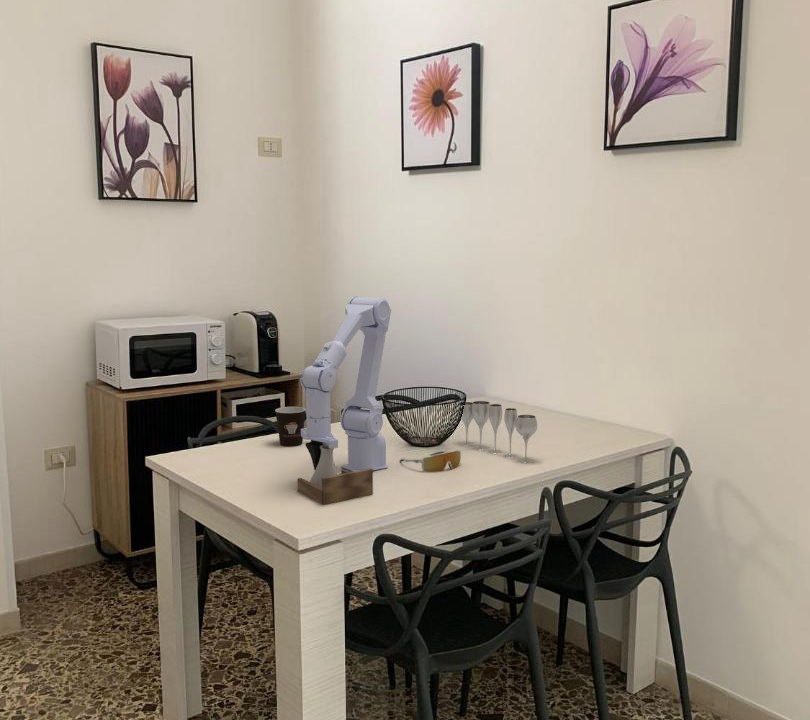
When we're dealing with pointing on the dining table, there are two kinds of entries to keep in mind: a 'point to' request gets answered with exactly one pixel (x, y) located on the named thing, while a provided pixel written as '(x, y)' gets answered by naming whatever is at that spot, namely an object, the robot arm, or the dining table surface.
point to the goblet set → (485, 411)
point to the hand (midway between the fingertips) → (319, 471)
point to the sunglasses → (438, 461)
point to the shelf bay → (339, 486)
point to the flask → (324, 466)
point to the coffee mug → (290, 425)
